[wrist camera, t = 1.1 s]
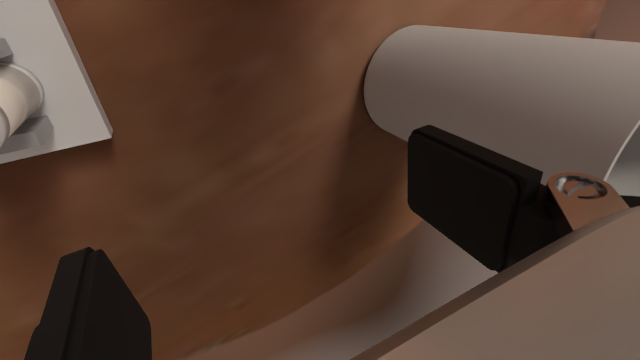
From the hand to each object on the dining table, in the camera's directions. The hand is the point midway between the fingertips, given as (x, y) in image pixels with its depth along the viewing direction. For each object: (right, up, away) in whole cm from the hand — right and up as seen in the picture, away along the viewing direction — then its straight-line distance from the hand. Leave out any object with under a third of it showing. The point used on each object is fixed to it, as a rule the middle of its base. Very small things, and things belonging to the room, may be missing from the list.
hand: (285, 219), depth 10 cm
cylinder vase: (+11, +13, +30) cm, 35 cm away
